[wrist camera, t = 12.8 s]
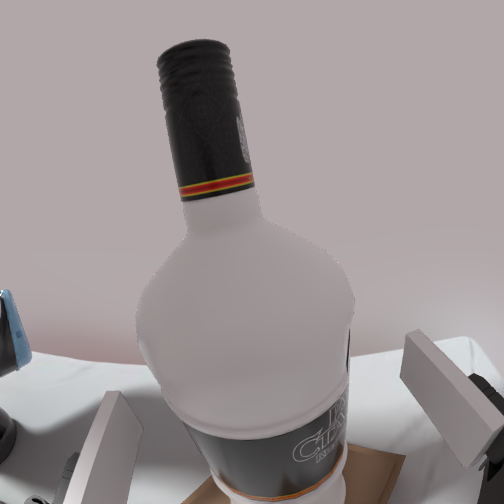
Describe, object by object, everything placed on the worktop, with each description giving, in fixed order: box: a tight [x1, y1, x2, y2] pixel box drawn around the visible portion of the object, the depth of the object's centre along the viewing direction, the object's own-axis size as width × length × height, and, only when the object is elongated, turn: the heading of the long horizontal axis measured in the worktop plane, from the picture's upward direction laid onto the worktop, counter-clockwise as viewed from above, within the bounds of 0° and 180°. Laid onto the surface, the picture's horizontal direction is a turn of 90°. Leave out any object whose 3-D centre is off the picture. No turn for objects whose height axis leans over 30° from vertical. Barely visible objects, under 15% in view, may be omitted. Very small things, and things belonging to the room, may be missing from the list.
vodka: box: [136, 39, 355, 504], centre depth 12 cm, size 9×9×30 cm
